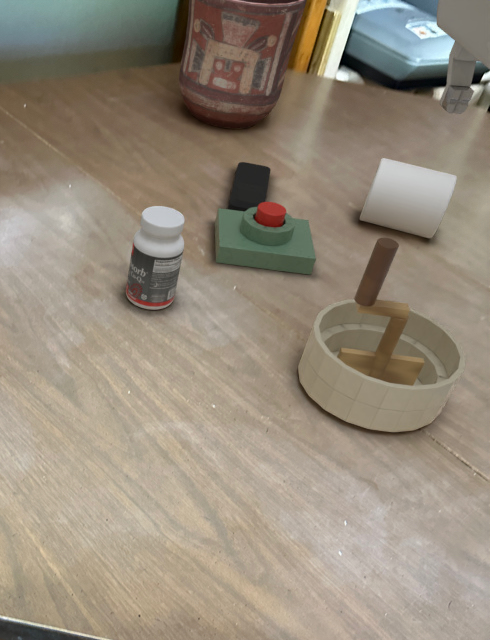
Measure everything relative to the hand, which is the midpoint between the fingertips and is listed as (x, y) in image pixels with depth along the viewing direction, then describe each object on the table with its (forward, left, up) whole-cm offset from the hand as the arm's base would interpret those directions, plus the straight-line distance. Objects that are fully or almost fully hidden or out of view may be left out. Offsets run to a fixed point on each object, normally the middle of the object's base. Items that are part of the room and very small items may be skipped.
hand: (475, 134), depth 61 cm
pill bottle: (+23, -14, -27) cm, 38 cm away
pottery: (+13, -72, -27) cm, 77 cm away
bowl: (-1, -2, -26) cm, 26 cm away
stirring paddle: (-1, -2, -25) cm, 25 cm away
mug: (-11, -42, -27) cm, 51 cm away
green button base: (+9, -29, -26) cm, 40 cm away
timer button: (+9, -29, -23) cm, 38 cm away
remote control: (+10, -44, -27) cm, 52 cm away
